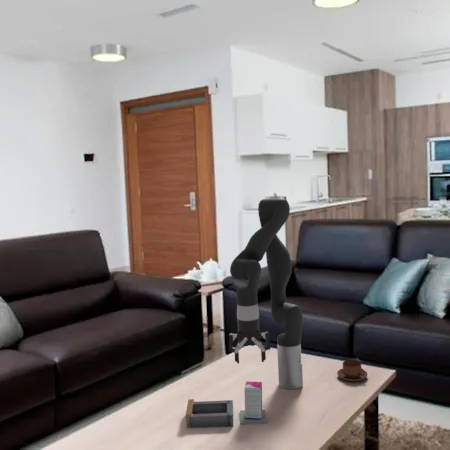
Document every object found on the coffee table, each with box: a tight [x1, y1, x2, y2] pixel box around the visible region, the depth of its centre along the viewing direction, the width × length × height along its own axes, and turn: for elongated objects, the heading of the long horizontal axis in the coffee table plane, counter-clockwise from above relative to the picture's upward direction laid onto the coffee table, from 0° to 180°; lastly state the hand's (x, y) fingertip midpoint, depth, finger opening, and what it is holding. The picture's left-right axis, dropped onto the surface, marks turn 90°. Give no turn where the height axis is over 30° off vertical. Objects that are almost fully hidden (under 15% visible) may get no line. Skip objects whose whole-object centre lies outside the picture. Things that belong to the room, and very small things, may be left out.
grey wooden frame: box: [185, 398, 234, 429], centre depth 184 cm, size 16×12×5 cm
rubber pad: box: [239, 408, 268, 425], centre depth 184 cm, size 9×9×1 cm
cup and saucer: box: [336, 359, 368, 382], centre depth 214 cm, size 12×12×6 cm
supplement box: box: [244, 380, 263, 420], centre depth 184 cm, size 6×6×12 cm
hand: (250, 361), depth 182 cm, fingers open, 8 cm apart
